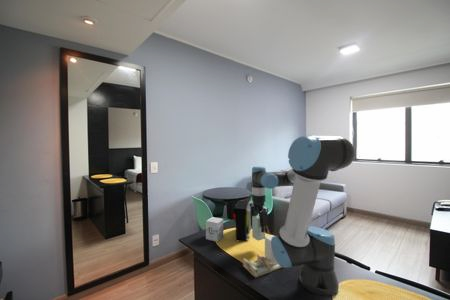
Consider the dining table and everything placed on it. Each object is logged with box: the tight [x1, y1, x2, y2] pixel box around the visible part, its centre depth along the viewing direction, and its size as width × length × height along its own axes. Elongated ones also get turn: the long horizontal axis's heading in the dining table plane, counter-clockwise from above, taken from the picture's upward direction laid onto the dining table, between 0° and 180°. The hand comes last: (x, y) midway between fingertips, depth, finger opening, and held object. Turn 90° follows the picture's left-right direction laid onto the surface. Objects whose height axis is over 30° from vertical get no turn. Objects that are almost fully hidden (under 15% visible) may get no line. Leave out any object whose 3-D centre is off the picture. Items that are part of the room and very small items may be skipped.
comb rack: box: [242, 253, 283, 278], centre depth 101 cm, size 10×19×4 cm, turn 119°
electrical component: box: [232, 200, 252, 242], centre depth 136 cm, size 18×10×20 cm, turn 168°
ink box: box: [205, 216, 224, 243], centre depth 131 cm, size 9×8×12 cm
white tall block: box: [264, 234, 277, 265], centre depth 103 cm, size 5×5×12 cm
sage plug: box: [251, 214, 266, 241], centre depth 116 cm, size 5×5×12 cm
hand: (258, 235), depth 116 cm, fingers closed on sage plug, 5 cm apart
